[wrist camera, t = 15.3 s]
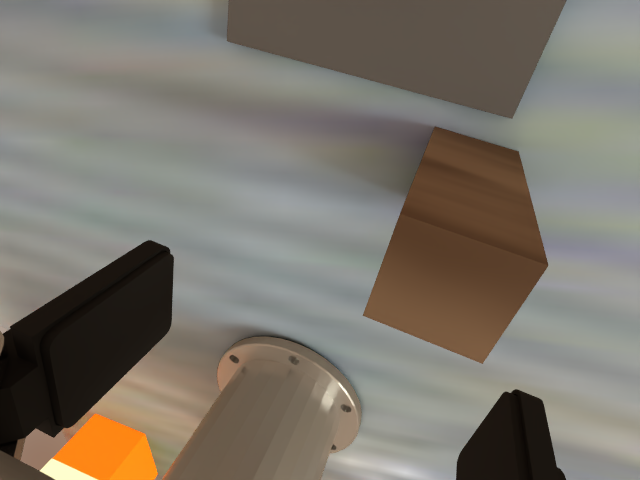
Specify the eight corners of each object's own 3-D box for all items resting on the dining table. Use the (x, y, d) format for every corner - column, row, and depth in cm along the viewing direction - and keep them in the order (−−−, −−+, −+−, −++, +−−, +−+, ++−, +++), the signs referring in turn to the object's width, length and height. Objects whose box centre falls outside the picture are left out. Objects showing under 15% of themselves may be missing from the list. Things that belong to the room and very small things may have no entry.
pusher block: (482, 223, 20) (482, 363, 12) (408, 198, 21) (362, 315, 13) (518, 151, 18) (548, 265, 10) (435, 126, 19) (399, 213, 11)
